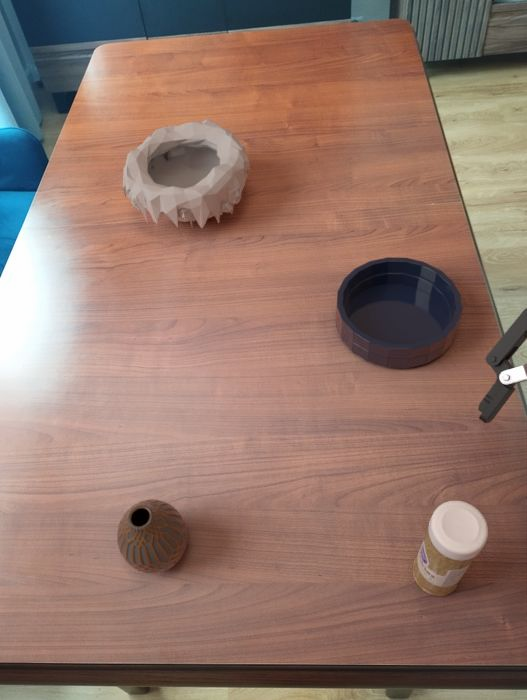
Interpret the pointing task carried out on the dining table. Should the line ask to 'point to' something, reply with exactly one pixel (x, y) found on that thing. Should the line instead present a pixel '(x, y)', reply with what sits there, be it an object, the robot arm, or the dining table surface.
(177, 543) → the vase
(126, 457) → the dining table surface
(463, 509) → the sprinkles bottle
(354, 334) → the pan
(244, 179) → the bowl
